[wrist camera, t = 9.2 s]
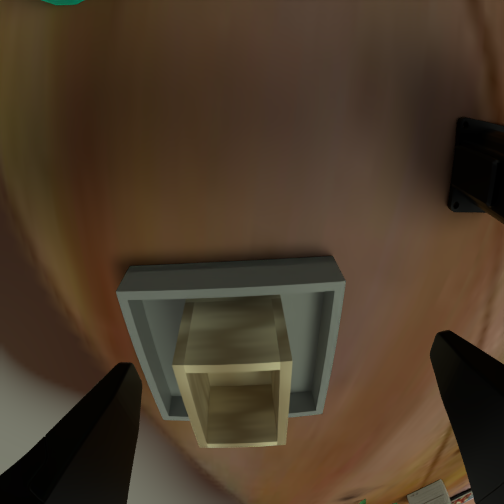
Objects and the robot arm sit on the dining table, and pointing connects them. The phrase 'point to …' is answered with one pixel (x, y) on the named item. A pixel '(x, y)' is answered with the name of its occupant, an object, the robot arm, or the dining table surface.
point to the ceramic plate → (462, 497)
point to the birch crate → (235, 370)
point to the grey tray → (236, 285)
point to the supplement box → (430, 494)
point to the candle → (63, 2)
